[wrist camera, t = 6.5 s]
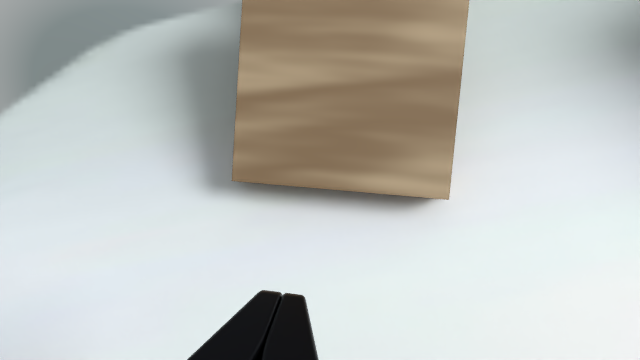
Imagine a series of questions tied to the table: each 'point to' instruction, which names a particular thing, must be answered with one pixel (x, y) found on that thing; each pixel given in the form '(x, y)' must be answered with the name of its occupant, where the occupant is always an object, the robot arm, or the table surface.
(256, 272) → the table surface
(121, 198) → the table surface
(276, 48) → the square wooden board
